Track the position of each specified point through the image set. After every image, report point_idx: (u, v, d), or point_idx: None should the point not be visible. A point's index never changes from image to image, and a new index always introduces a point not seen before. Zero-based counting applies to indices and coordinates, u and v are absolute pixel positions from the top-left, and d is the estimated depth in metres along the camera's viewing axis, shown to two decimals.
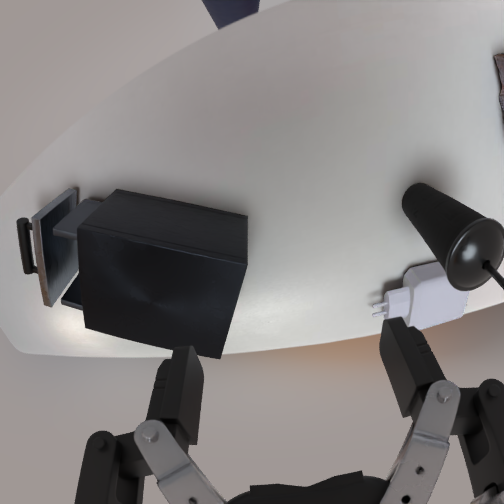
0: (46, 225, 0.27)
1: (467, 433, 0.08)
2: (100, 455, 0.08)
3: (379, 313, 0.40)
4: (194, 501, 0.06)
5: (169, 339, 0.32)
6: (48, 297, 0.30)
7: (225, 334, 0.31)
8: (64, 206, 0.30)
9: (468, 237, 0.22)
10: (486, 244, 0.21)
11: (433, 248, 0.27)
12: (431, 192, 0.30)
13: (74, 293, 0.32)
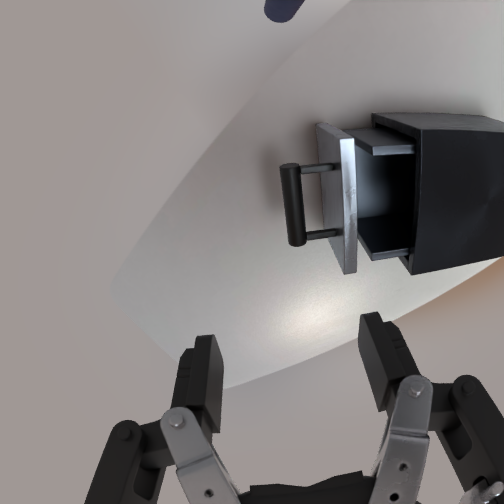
0: None
1: (446, 430, 0.08)
2: (123, 445, 0.08)
3: None
4: (210, 493, 0.06)
5: (494, 244, 0.24)
6: (354, 258, 0.25)
7: None
8: None
9: None
10: None
11: None
12: None
13: (378, 242, 0.27)
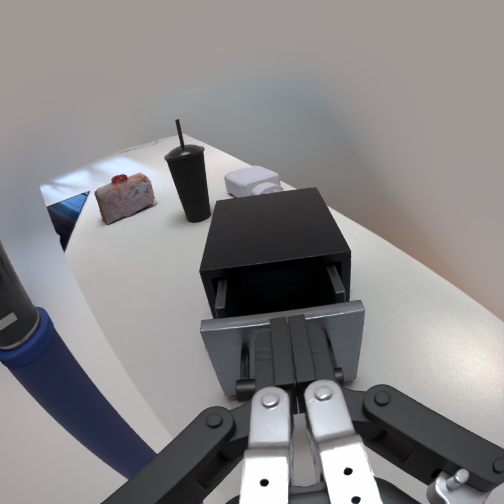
0: None
1: (375, 441, 0.09)
2: (207, 431, 0.08)
3: (276, 191, 0.61)
4: (265, 482, 0.07)
5: (311, 206, 0.34)
6: (341, 304, 0.21)
7: (284, 191, 0.39)
8: None
9: (172, 156, 0.53)
10: (173, 150, 0.54)
11: (196, 173, 0.55)
12: (182, 203, 0.59)
13: (332, 299, 0.25)
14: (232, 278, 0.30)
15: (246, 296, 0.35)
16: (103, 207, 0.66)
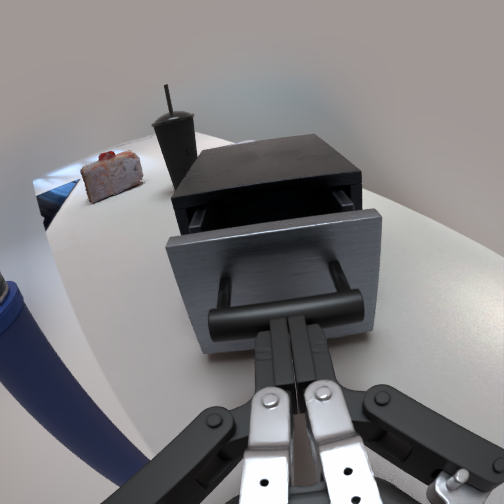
0: None
1: (375, 441, 0.09)
2: (207, 431, 0.08)
3: None
4: (265, 482, 0.07)
5: (309, 144, 0.28)
6: (350, 212, 0.16)
7: (279, 138, 0.33)
8: None
9: (160, 121, 0.48)
10: (161, 116, 0.49)
11: (184, 139, 0.50)
12: (170, 174, 0.54)
13: None
14: (216, 212, 0.25)
15: None
16: (88, 184, 0.60)
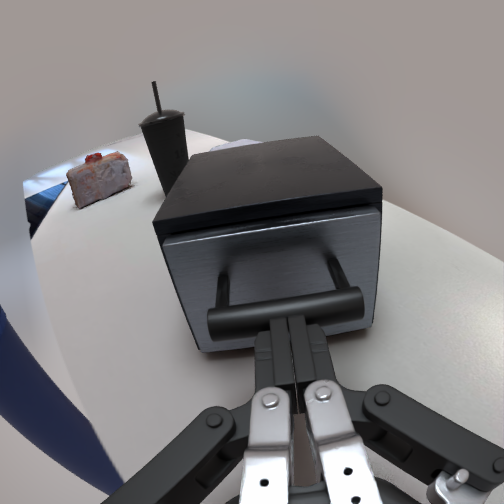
0: None
1: (375, 441, 0.09)
2: (207, 431, 0.08)
3: None
4: (265, 482, 0.07)
5: (314, 149, 0.25)
6: (348, 209, 0.16)
7: (278, 140, 0.30)
8: None
9: (147, 121, 0.43)
10: (148, 116, 0.45)
11: (174, 140, 0.46)
12: (159, 177, 0.50)
13: None
14: None
15: None
16: (74, 189, 0.55)
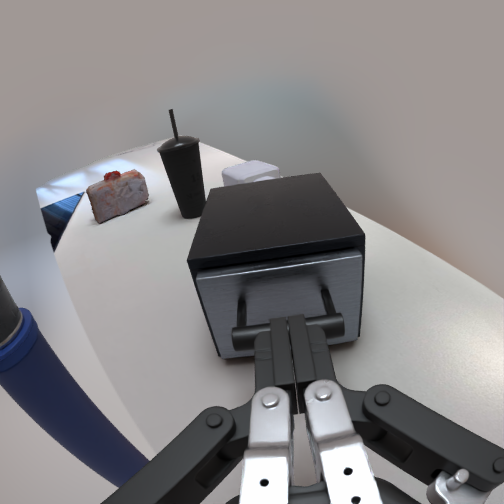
0: None
1: (375, 441, 0.09)
2: (207, 431, 0.08)
3: None
4: (265, 482, 0.07)
5: (315, 190, 0.30)
6: (338, 251, 0.22)
7: (285, 177, 0.35)
8: None
9: (166, 147, 0.49)
10: (166, 142, 0.51)
11: (190, 165, 0.51)
12: (176, 198, 0.56)
13: None
14: None
15: None
16: (95, 205, 0.62)
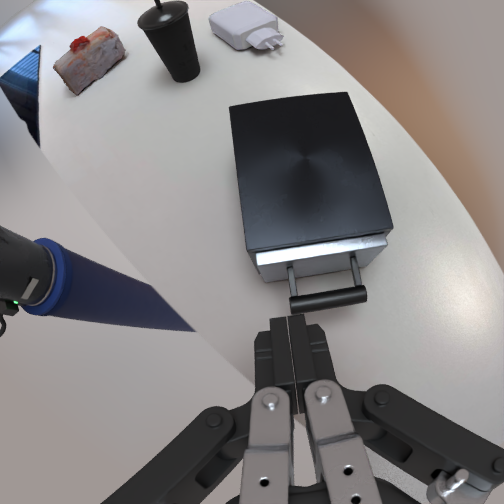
0: None
1: (375, 441, 0.09)
2: (207, 431, 0.08)
3: (277, 42, 0.43)
4: (265, 482, 0.07)
5: (347, 133, 0.28)
6: (369, 237, 0.26)
7: (311, 95, 0.30)
8: None
9: (150, 24, 0.32)
10: (148, 15, 0.32)
11: (181, 37, 0.36)
12: (166, 66, 0.42)
13: None
14: None
15: None
16: (68, 81, 0.45)
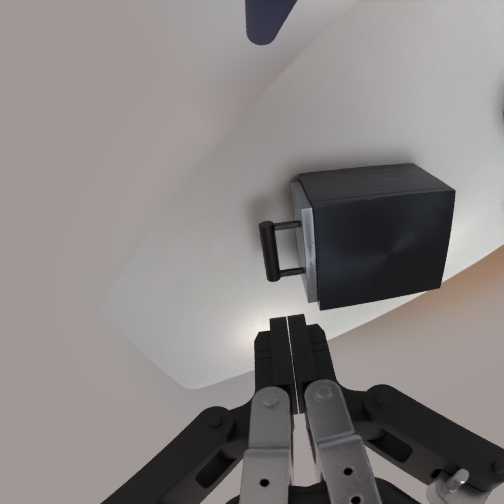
0: None
1: (375, 441, 0.09)
2: (207, 431, 0.08)
3: None
4: (265, 482, 0.07)
5: (402, 285, 0.33)
6: (316, 291, 0.34)
7: (444, 260, 0.32)
8: None
9: None
10: None
11: None
12: None
13: None
14: None
15: None
16: None
